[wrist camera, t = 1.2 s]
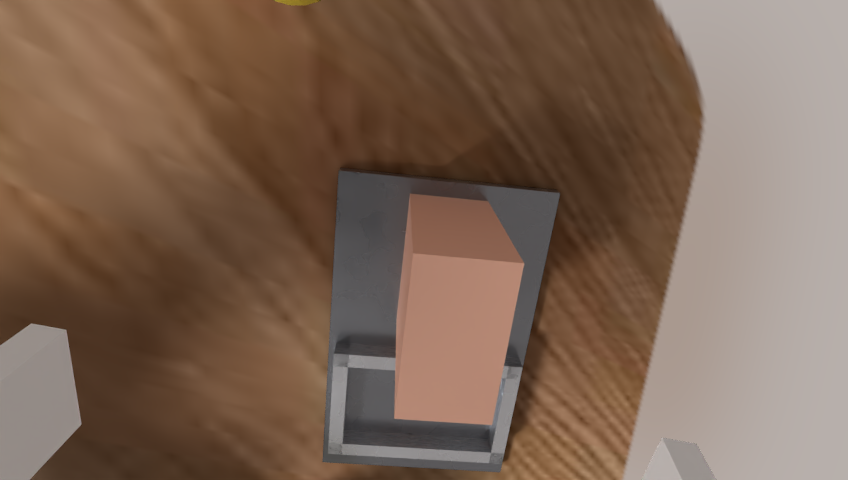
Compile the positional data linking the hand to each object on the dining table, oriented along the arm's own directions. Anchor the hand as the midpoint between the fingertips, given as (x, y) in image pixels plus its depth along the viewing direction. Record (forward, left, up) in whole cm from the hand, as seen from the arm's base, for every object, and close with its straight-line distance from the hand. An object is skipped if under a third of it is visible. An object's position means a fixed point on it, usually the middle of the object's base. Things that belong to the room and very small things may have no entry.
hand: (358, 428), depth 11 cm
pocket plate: (-11, -4, -22) cm, 25 cm away
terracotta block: (-5, -4, -21) cm, 22 cm away
